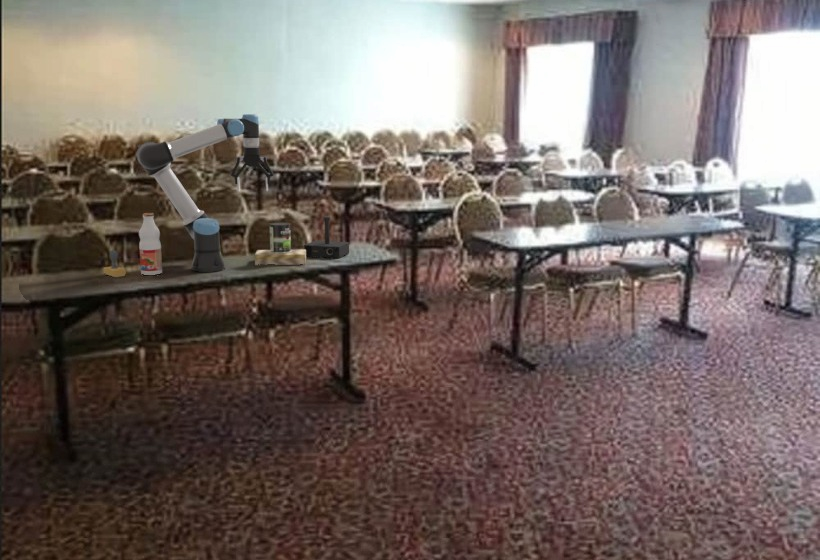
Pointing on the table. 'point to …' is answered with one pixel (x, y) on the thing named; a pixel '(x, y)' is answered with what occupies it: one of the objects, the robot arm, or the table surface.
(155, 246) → the fruit juice
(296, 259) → the beige flat block
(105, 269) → the rubber stamp
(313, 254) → the projector
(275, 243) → the coffee can
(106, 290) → the table surface
